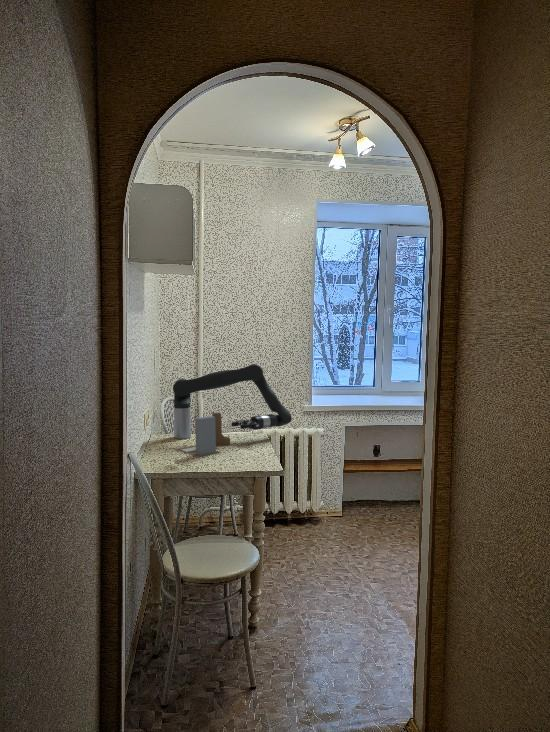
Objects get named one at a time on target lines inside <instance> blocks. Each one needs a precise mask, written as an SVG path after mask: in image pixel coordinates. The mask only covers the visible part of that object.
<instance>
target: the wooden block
mask: <svg viewBox="0 0 550 732" xmlns="http://www.w3.org/2000/svg"><path fill="white" fill-rule="evenodd" d="M211 416H213V417H215V430H216V447H217V446H218V447H219V446H220V447H221V446H231V438H230V437H228V436H224V434H223V432H222V429H223V428H222V413H221V412H212V413H211Z"/></svg>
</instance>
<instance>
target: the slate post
mask: <svg viewBox="0 0 550 732" xmlns="http://www.w3.org/2000/svg"><path fill="white" fill-rule="evenodd" d="M194 421H195V422H194V423H195V425H194V427H195V428H194V430H195V446H196V454H197V455H199V456H202V455H207V454H213V453H216V451H217V446H216V430H215V417H213V416H212V415H210V416H209V415H208V416H201V417H195V418H194Z"/></svg>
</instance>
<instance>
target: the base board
mask: <svg viewBox="0 0 550 732" xmlns="http://www.w3.org/2000/svg"><path fill="white" fill-rule="evenodd" d="M175 450H177V451H179V452H181V453H185V454H188V455H189V456H190V455H191V456H193V457H196V458H202V457H207V456H208V457H209V456H212V455H219V454H220V455H221V454H222V452H221V451H218V450H216V453H213V454H207V455H202V456H199V455H197V454H196V445H192V446H187V447H182V448H181V447H179V448H175Z"/></svg>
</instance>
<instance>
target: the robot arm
mask: <svg viewBox="0 0 550 732" xmlns="http://www.w3.org/2000/svg"><path fill="white" fill-rule="evenodd" d="M249 381H252V382H253V384H254V385H255V386H256V388H257V389H258V390H259V392H260V394H261V396H262V398H263V399H264V402H265V404H266V405H267V406H268V409H269V410H270V411H271V412H272V414H262V415H261V414H260V415H253V416H252V417H250V419H241V420H240V419H239V420H235V421H233V422H231V423H230V424H231V427H239V428H240V429H241V430H243V429H244V430H245V429H249V430H254V431H256V430H263V429H267V428H272V427H273V428H274V427H277V428H278V427H282V426H285V425H289V424H290V423H291V422H292V419H293V418H292V415H291V414H292V413H291V412H290V411H289V409H287V408H286V406H284V405H283V404H282V402H281V401H280V399H279V398H278V396H277V394H276V393H275V392H274V390H273V389H272V387H271V386H270V385H269V383H268V381H267V379H266V378H265V374H264V370H263V368H262V367H261V365H260V364H258V363H251V364H250V365H246V366H245V367H242V368H237V369H226V370H225V369H224V370H220V371H219V370H218V371H215V372H210V373H207V374H204V375H201V376H200V377H197V378H192V379H187V378H186V379H185V378H179V379H177V380H176V381H175V382H174V383H173V386H172V391H173V437H174V438H175V439H179V440H180V439H181V440H183V439H190V438H191V437H192V426H191V425H192V424H191V423H192V422H191V400H192V399H191V394H192V393H197V392H200V391H201V392H202V391H209V390H215V389H216V390H217V389H221V388H225V387H228V386H232V385H234V384H237V383H241V382H249ZM273 413H277V414H273Z"/></svg>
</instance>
